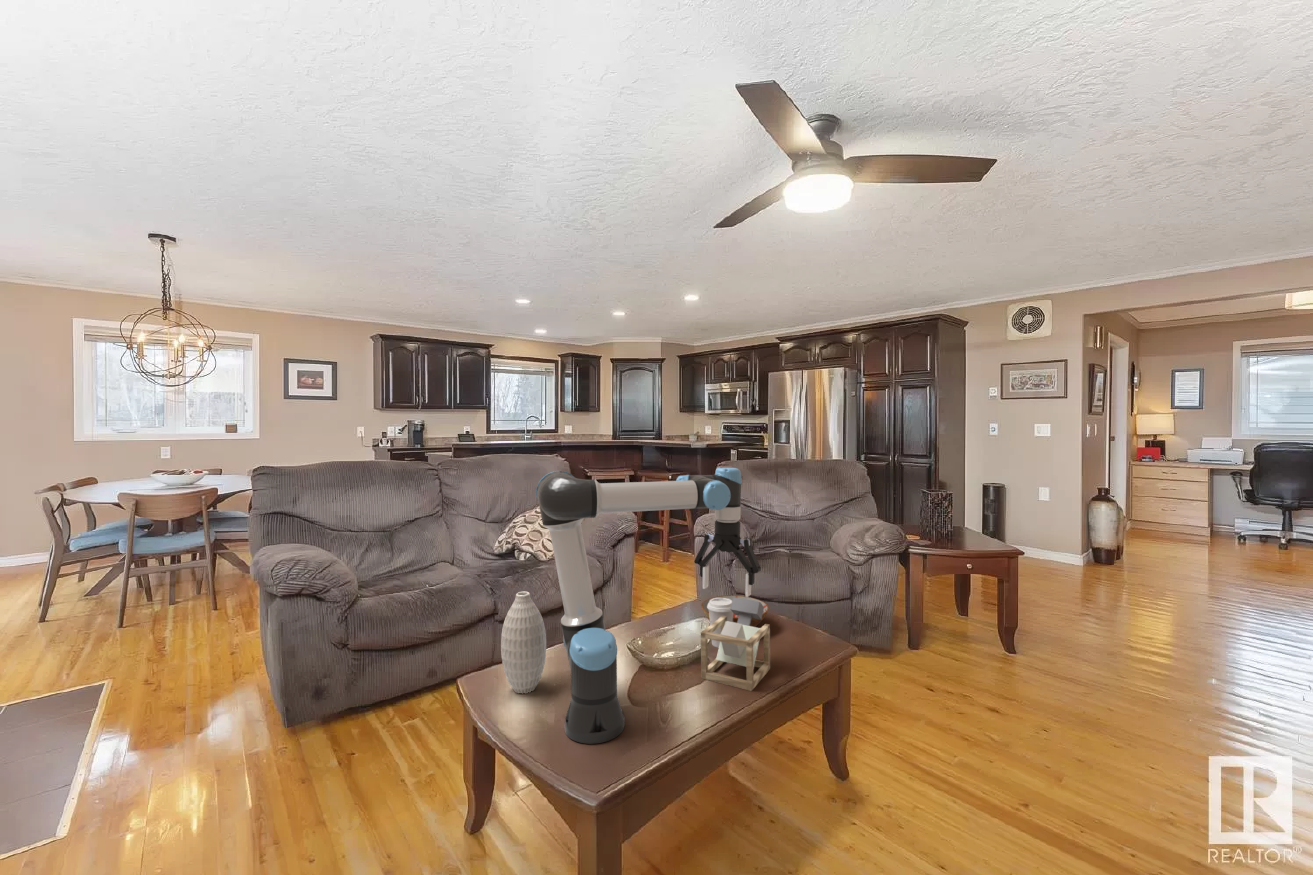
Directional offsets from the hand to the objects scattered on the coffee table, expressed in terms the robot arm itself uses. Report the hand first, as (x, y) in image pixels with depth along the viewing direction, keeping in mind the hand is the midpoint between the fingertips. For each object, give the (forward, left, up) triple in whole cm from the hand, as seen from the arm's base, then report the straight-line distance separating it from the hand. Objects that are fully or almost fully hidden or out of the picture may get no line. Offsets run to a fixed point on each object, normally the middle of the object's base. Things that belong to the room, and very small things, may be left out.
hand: (726, 591), depth 163 cm
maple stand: (+6, 0, -27) cm, 28 cm away
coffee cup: (+24, +13, -27) cm, 38 cm away
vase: (-33, +50, -27) cm, 65 cm away
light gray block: (+6, 0, -19) cm, 20 cm away
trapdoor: (+12, 0, -17) cm, 21 cm away
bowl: (+41, +15, -27) cm, 51 cm away
